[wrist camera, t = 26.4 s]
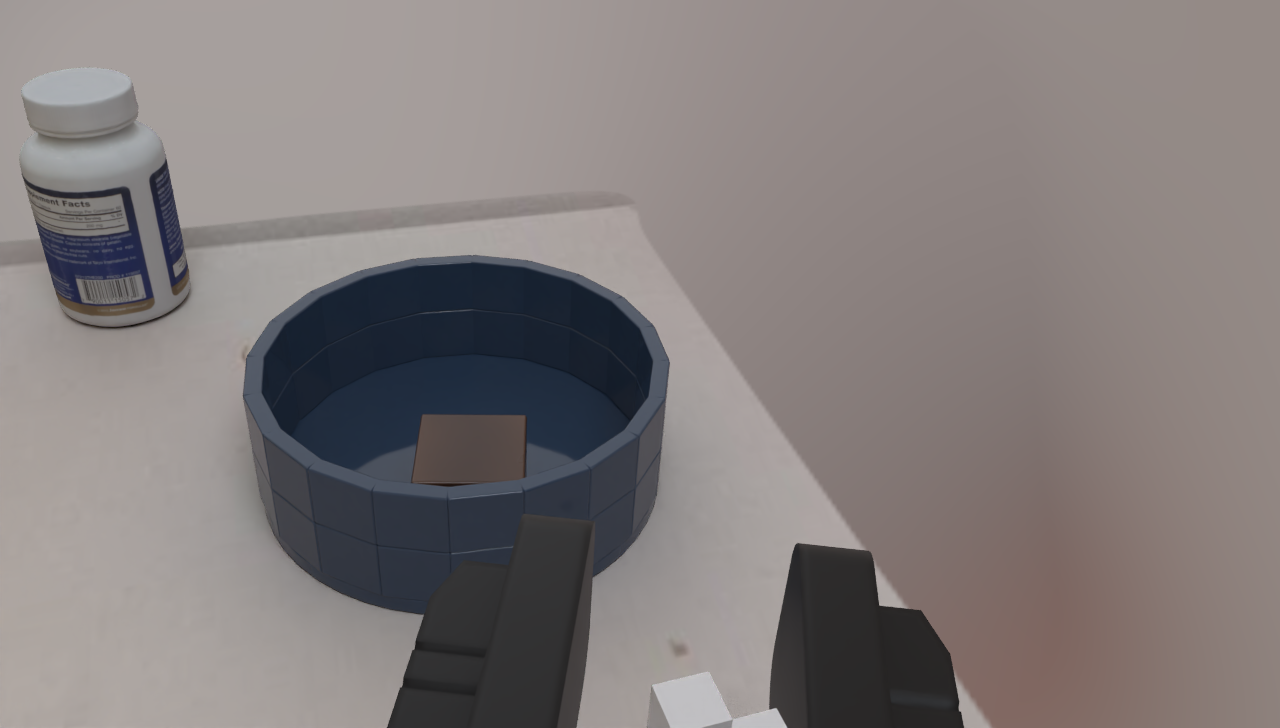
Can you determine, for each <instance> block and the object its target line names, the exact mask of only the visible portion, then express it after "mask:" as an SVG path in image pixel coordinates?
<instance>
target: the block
mask: <svg viewBox="0 0 1280 728" xmlns="http://www.w3.org/2000/svg"><path fill="white" fill-rule="evenodd" d="M525 477H527V417H526V416H525V415H463V414H423V415H422V416H421V420H420V427H419V433H418V440H417V446H416V452H415V459H414V465H413V472H412V478H411V483H417V484H426V485H436V486H445V487H452V486H462V485H472V484H481V483H491V482H501V481H510V480H519V479H522V478H525Z"/></svg>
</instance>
